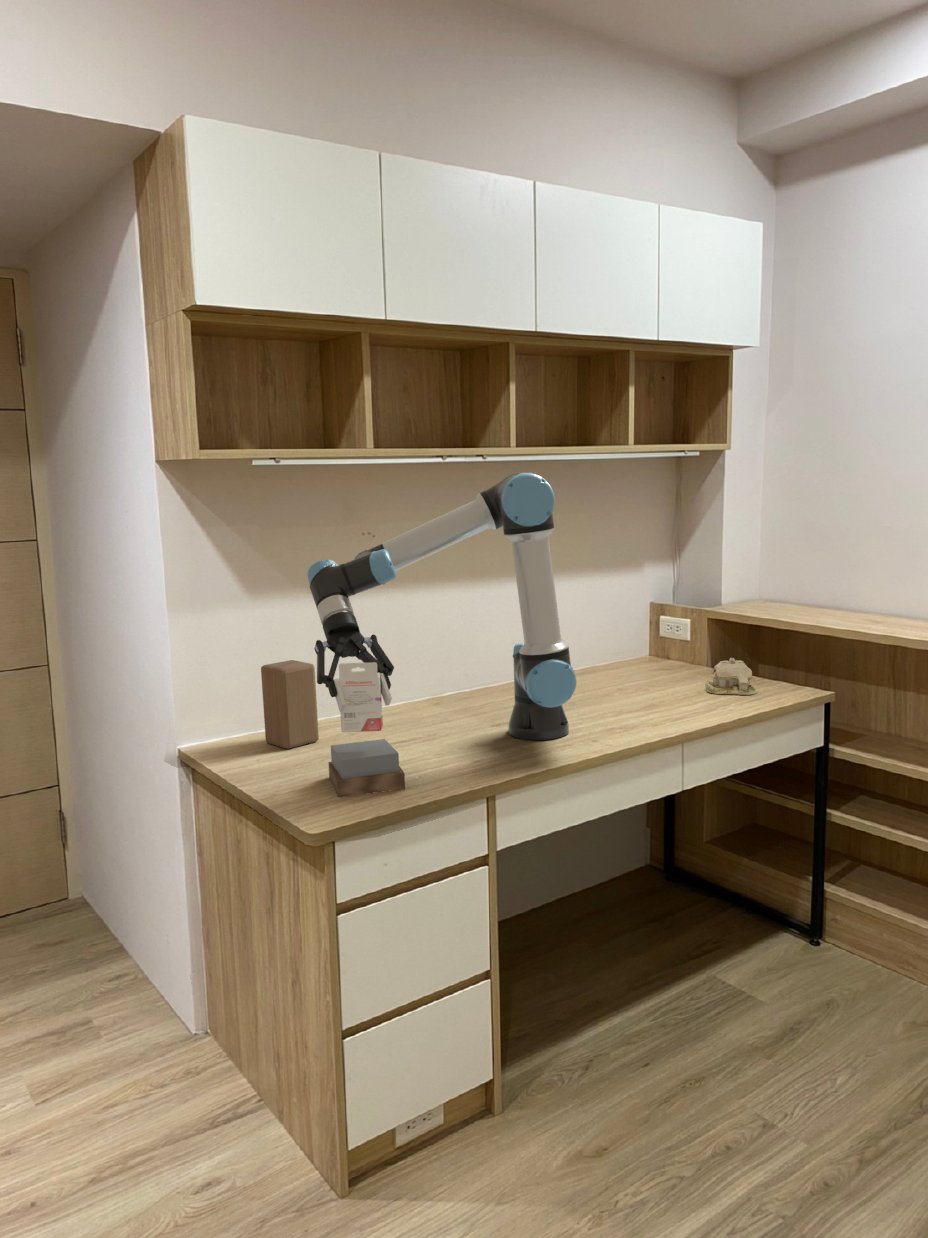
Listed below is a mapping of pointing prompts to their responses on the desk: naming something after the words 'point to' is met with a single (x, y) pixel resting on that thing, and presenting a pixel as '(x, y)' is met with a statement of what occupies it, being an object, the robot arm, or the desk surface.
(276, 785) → the desk surface
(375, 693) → the ink cartridge box
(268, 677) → the wooden block
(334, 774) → the walnut base slab
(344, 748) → the slate grey top slab
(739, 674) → the ceramic model
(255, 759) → the desk surface
